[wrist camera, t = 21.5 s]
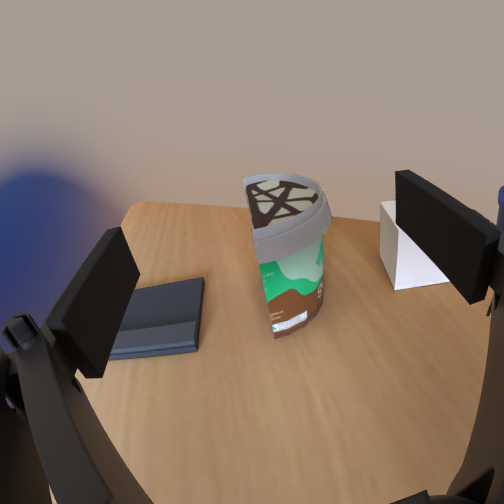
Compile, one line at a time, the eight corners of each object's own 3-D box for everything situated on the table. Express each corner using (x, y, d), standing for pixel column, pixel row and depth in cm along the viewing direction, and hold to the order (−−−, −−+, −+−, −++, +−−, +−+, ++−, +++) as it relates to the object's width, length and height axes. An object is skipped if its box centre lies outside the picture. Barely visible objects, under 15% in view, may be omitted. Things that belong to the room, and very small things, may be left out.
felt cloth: (204, 281, 33) (201, 272, 32) (197, 351, 24) (193, 342, 24) (122, 296, 33) (118, 288, 33) (96, 361, 25) (90, 353, 24)
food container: (355, 334, 22) (355, 214, 18) (277, 352, 23) (252, 234, 18) (317, 254, 33) (306, 163, 28) (260, 265, 33) (242, 175, 28)
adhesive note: (379, 255, 31) (379, 201, 28) (430, 248, 30) (434, 196, 27) (394, 290, 26) (398, 230, 23) (451, 281, 24) (461, 223, 22)
